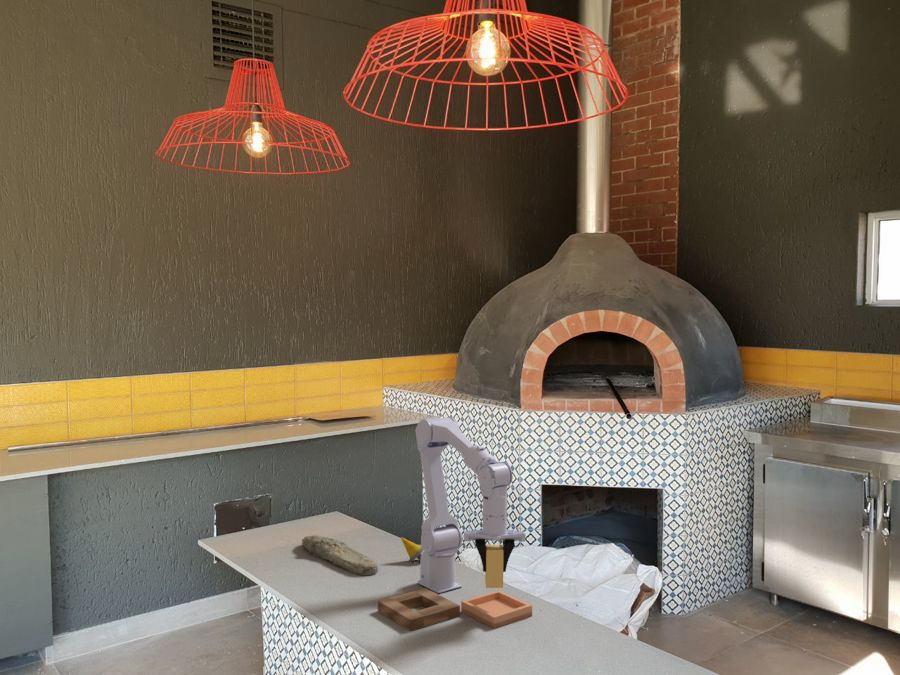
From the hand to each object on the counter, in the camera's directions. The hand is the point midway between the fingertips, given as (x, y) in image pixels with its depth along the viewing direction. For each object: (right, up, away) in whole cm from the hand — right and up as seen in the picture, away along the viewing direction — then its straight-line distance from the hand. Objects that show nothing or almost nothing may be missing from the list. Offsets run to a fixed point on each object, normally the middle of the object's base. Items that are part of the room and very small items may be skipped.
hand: (494, 570), depth 179 cm
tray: (+1, -10, 0) cm, 10 cm away
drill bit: (-21, -9, +37) cm, 43 cm away
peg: (0, -3, 0) cm, 3 cm away
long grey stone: (-43, -9, +39) cm, 59 cm away
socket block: (-18, -10, 0) cm, 21 cm away
